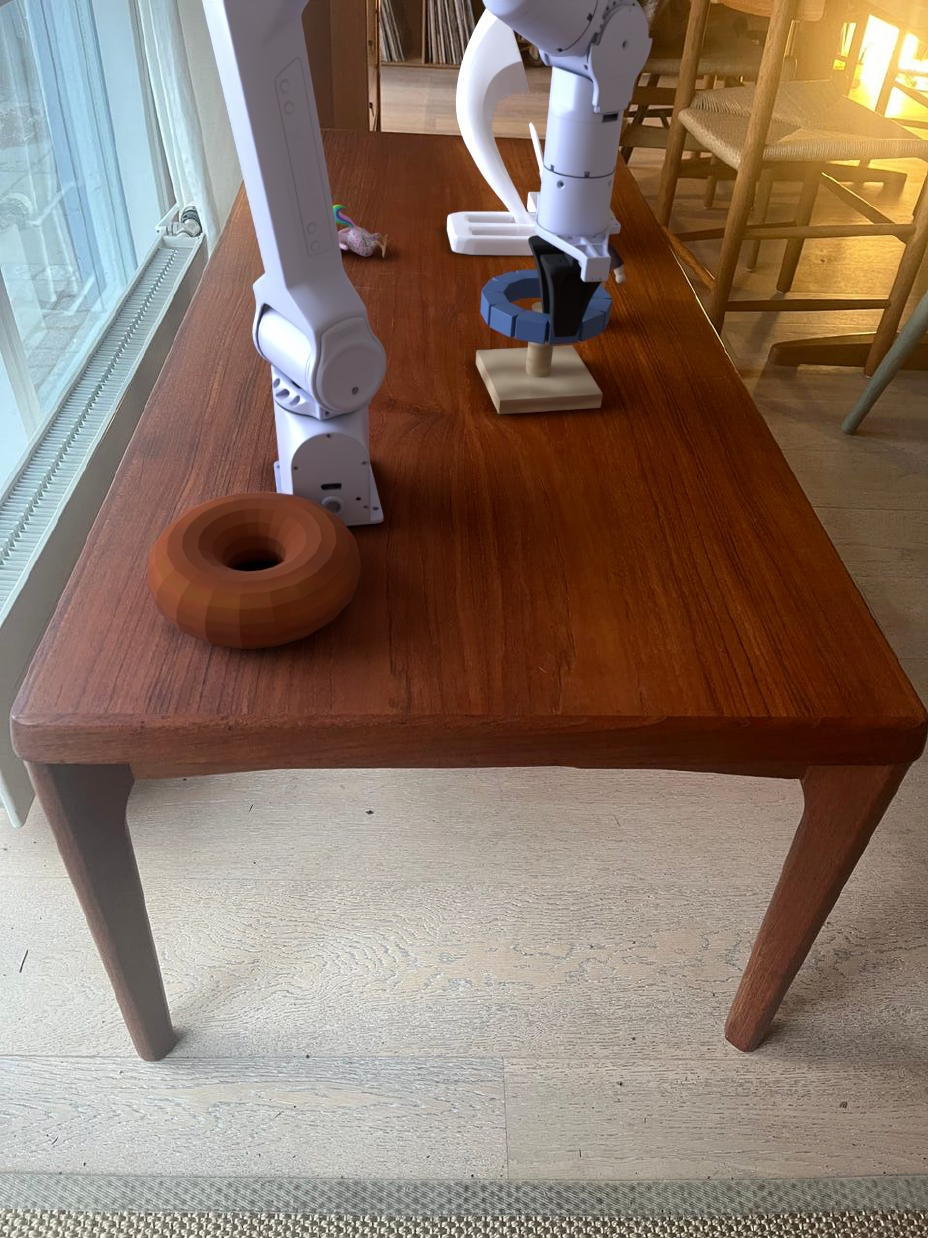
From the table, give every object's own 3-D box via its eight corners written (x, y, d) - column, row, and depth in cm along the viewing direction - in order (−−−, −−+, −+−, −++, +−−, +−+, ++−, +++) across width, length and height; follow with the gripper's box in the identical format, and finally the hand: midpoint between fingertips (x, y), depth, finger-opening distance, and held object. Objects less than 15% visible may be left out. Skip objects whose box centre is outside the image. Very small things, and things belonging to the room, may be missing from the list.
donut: (390, 555, 74) (390, 501, 71) (313, 687, 64) (309, 631, 60) (213, 514, 77) (205, 460, 74) (110, 635, 66) (95, 578, 63)
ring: (625, 340, 87) (628, 318, 86) (499, 348, 85) (501, 326, 84) (584, 286, 96) (587, 266, 94) (469, 292, 93) (470, 272, 92)
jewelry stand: (581, 262, 118) (612, 26, 102) (454, 262, 117) (464, 22, 100) (547, 191, 137) (568, -18, 120) (436, 190, 135) (442, -23, 118)
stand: (600, 407, 92) (613, 328, 87) (498, 414, 91) (505, 333, 85) (570, 358, 100) (580, 282, 94) (475, 363, 98) (480, 286, 93)
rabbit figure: (384, 254, 121) (262, 229, 119) (392, 206, 117) (266, 179, 115) (382, 274, 116) (255, 249, 114) (390, 225, 112) (258, 197, 110)
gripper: (658, 197, 73) (629, 364, 82) (599, 137, 83) (579, 291, 92) (568, 199, 71) (548, 369, 80) (519, 138, 82) (506, 294, 91)
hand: (559, 328), depth 86 cm, fingers closed on ring, 2 cm apart
